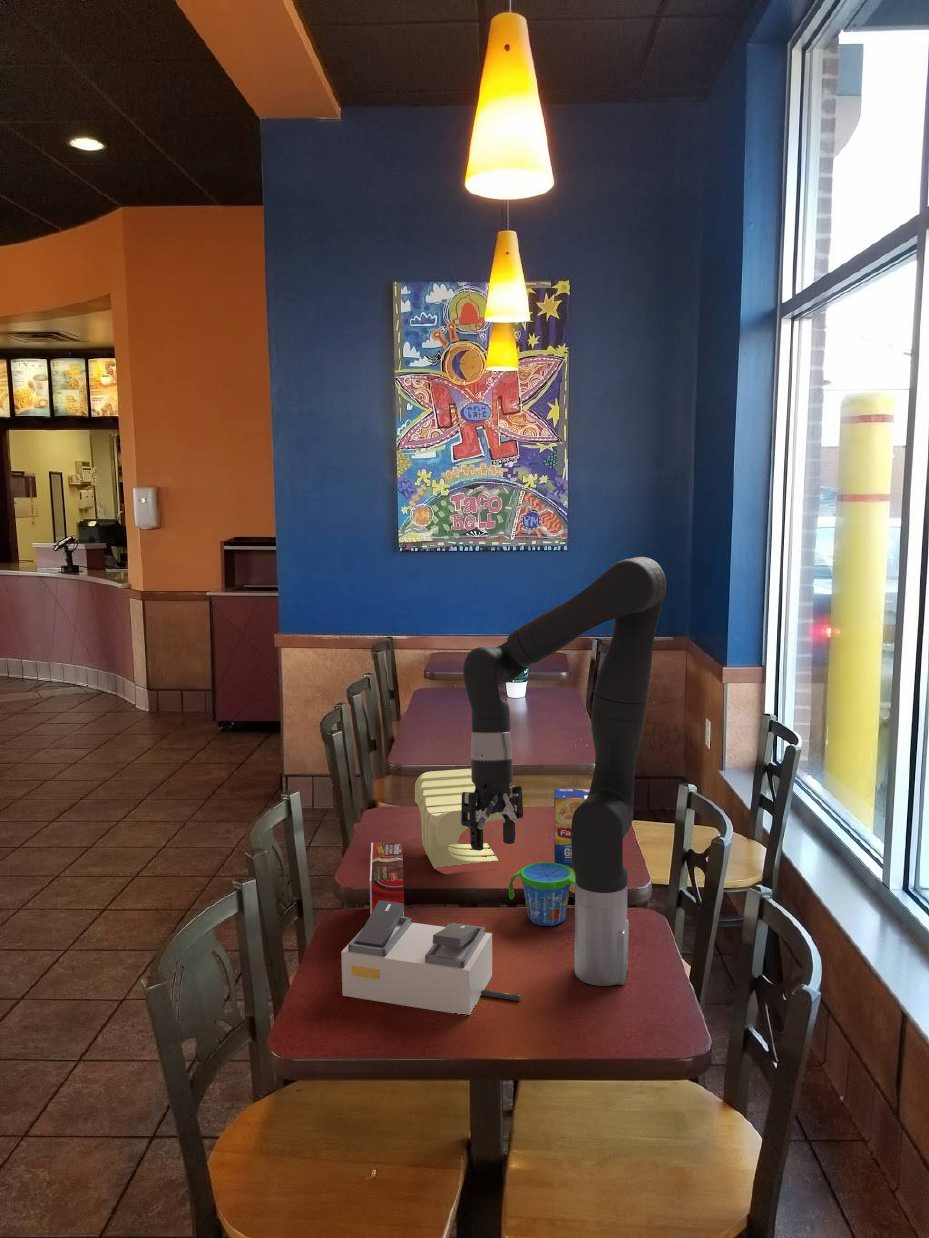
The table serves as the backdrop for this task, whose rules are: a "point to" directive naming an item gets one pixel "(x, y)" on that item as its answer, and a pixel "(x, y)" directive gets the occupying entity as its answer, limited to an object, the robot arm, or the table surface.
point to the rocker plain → (455, 935)
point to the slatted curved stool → (447, 818)
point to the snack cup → (545, 891)
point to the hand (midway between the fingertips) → (493, 846)
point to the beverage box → (565, 824)
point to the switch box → (421, 970)
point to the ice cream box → (386, 873)
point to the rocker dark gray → (381, 924)
